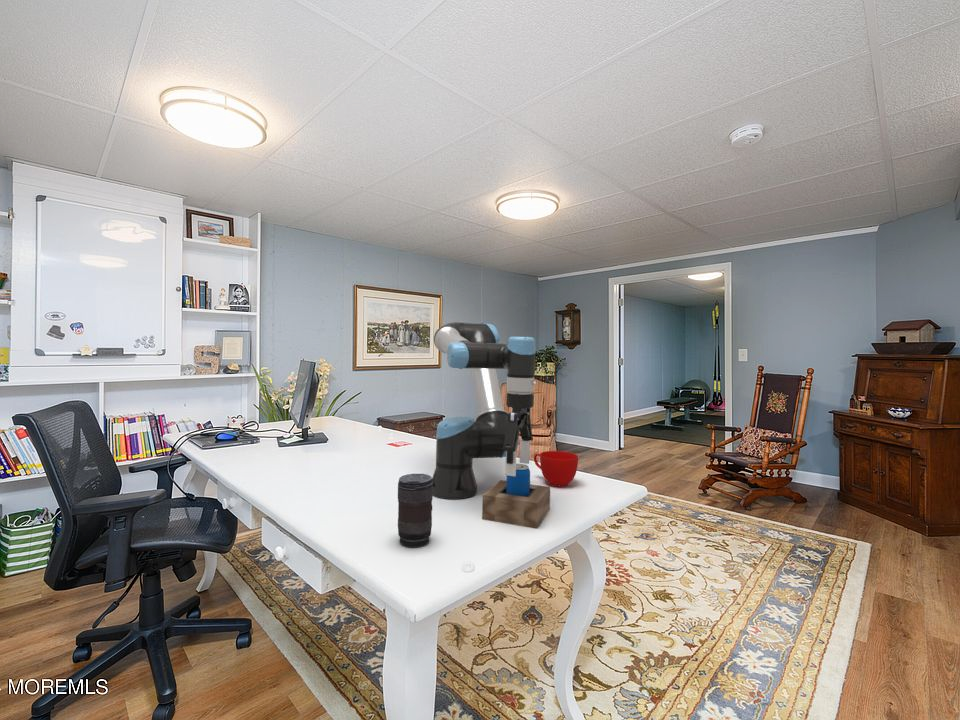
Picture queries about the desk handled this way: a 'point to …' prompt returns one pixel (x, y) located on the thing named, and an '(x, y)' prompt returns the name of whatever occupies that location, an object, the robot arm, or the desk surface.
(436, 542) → the desk surface
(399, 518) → the camera lens
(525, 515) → the socket block
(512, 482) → the beverage can
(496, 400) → the robot arm
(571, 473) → the ceramic cup
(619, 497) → the desk surface
